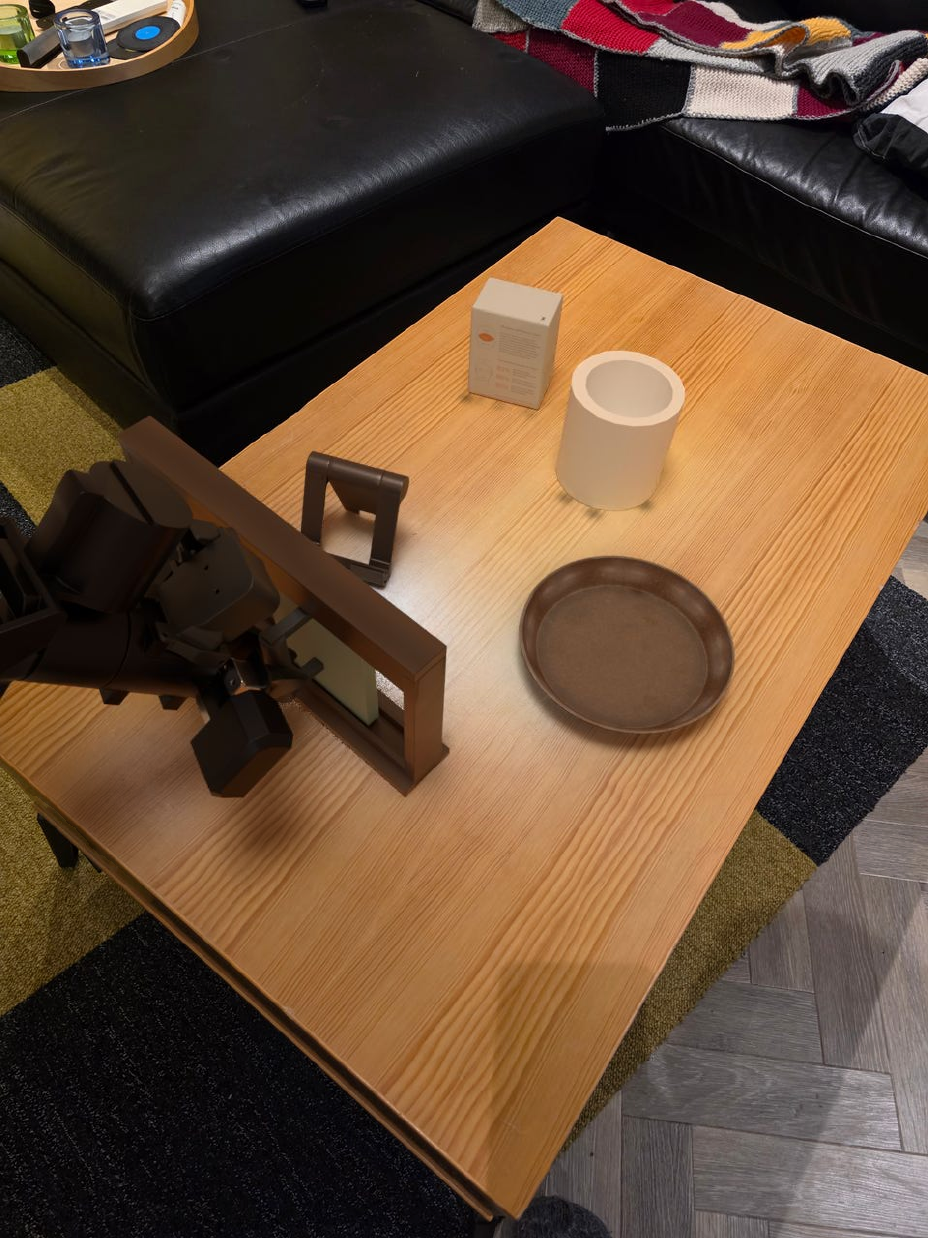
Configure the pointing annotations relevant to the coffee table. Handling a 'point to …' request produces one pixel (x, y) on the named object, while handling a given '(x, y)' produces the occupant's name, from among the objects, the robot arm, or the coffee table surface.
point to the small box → (513, 342)
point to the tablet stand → (355, 507)
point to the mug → (618, 429)
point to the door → (320, 659)
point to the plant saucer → (626, 644)
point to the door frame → (321, 612)
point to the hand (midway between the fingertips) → (299, 669)
